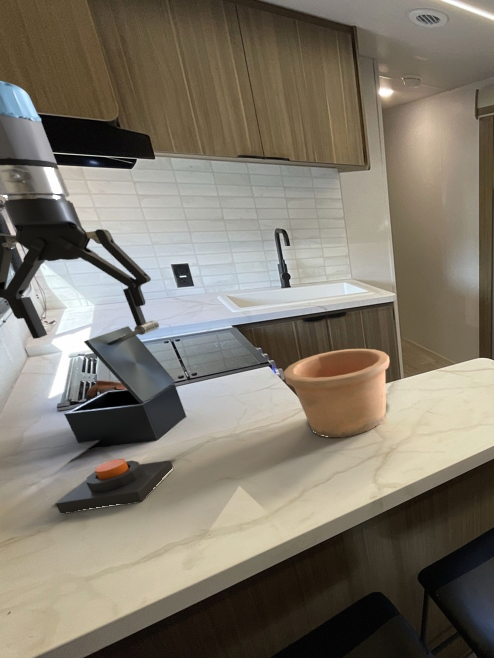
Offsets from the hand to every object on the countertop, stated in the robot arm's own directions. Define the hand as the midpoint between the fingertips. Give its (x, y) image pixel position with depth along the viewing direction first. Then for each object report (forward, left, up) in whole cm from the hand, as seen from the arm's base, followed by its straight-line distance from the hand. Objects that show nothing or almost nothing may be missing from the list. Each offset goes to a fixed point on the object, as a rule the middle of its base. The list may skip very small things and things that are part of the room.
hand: (93, 330), depth 71 cm
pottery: (+37, +8, -28) cm, 47 cm away
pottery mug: (-30, +38, -28) cm, 56 cm away
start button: (0, -9, -24) cm, 25 cm away
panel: (0, -9, -27) cm, 29 cm away
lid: (-7, +17, -11) cm, 22 cm away
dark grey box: (-12, +17, -27) cm, 34 cm away
